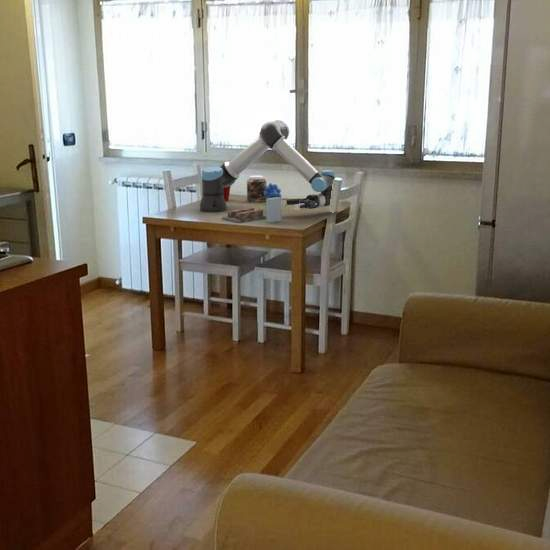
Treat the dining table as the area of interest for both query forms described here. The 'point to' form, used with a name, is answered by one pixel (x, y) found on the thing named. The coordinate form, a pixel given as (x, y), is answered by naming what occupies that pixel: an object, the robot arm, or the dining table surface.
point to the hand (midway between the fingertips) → (285, 205)
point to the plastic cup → (226, 193)
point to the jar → (256, 189)
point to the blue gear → (272, 191)
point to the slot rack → (244, 215)
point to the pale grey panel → (273, 209)
